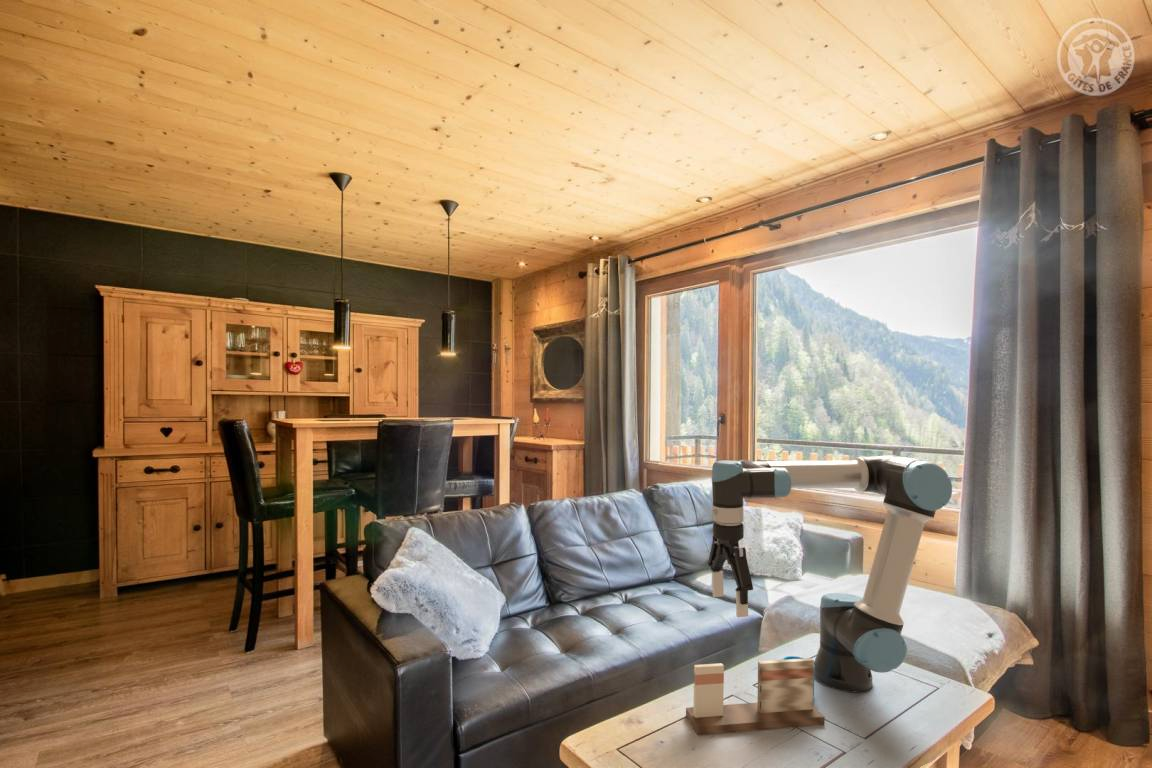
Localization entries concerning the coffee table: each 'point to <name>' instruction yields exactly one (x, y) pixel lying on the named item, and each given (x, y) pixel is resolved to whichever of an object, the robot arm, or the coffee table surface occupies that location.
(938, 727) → the coffee table surface
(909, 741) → the coffee table surface
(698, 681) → the stub
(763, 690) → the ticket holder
